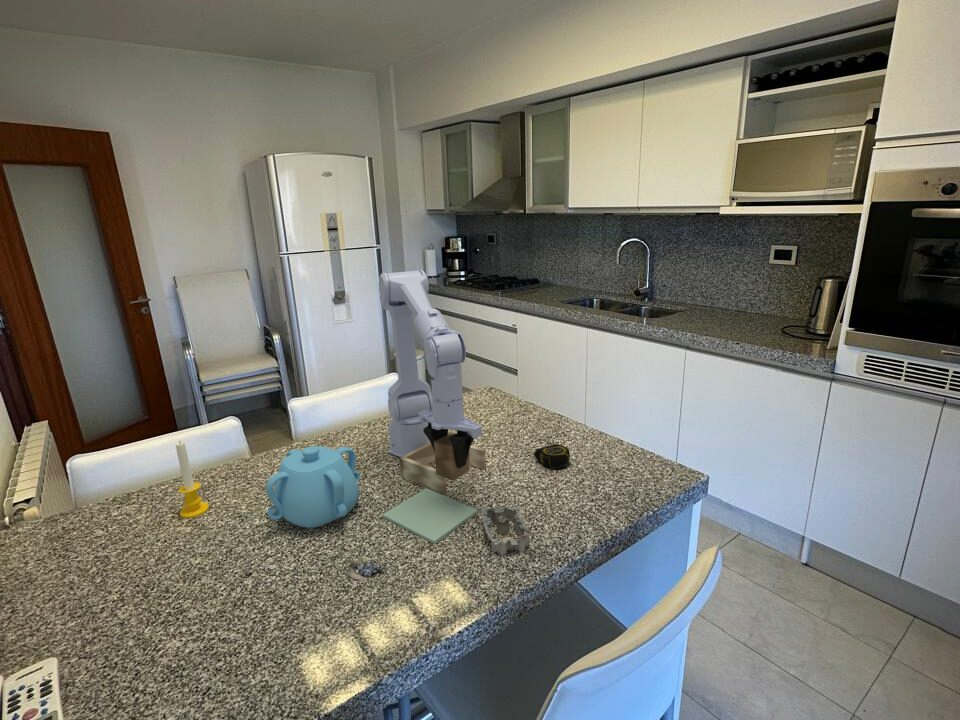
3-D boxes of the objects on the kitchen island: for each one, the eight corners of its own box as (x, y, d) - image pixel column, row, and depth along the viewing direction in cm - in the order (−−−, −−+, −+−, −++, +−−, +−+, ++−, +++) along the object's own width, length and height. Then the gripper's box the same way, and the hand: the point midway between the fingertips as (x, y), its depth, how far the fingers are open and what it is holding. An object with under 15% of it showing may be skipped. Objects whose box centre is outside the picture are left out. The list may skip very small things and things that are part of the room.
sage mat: (382, 517, 98) (382, 514, 98) (426, 490, 107) (426, 488, 107) (434, 544, 89) (434, 541, 89) (477, 512, 98) (477, 509, 98)
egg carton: (532, 552, 87) (532, 532, 85) (490, 558, 86) (489, 537, 84) (518, 517, 96) (518, 499, 95) (480, 522, 95) (479, 503, 94)
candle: (213, 510, 103) (198, 439, 99) (185, 521, 99) (168, 448, 95) (203, 501, 106) (189, 432, 102) (176, 512, 103) (159, 441, 98)
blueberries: (354, 558, 87) (352, 548, 87) (400, 557, 87) (399, 548, 87) (342, 585, 81) (340, 575, 80) (392, 585, 81) (391, 575, 80)
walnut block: (436, 474, 100) (434, 441, 98) (452, 464, 103) (451, 432, 102) (453, 480, 97) (451, 447, 95) (469, 470, 101) (468, 438, 99)
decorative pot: (259, 535, 94) (247, 469, 90) (296, 489, 109) (287, 431, 106) (345, 537, 93) (336, 470, 89) (370, 490, 108) (364, 431, 104)
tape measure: (559, 454, 120) (559, 440, 119) (575, 467, 114) (575, 452, 113) (533, 461, 118) (533, 446, 117) (549, 474, 112) (549, 458, 111)
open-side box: (401, 476, 113) (399, 458, 112) (444, 452, 123) (442, 435, 122) (443, 494, 105) (442, 474, 104) (485, 467, 115) (485, 449, 114)
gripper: (405, 396, 97) (410, 460, 101) (463, 411, 88) (466, 481, 92) (431, 385, 102) (435, 447, 106) (488, 399, 93) (490, 466, 97)
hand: (451, 462), depth 99 cm, fingers closed on walnut block, 4 cm apart
